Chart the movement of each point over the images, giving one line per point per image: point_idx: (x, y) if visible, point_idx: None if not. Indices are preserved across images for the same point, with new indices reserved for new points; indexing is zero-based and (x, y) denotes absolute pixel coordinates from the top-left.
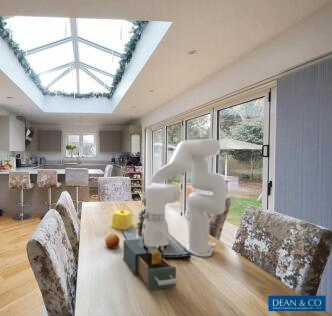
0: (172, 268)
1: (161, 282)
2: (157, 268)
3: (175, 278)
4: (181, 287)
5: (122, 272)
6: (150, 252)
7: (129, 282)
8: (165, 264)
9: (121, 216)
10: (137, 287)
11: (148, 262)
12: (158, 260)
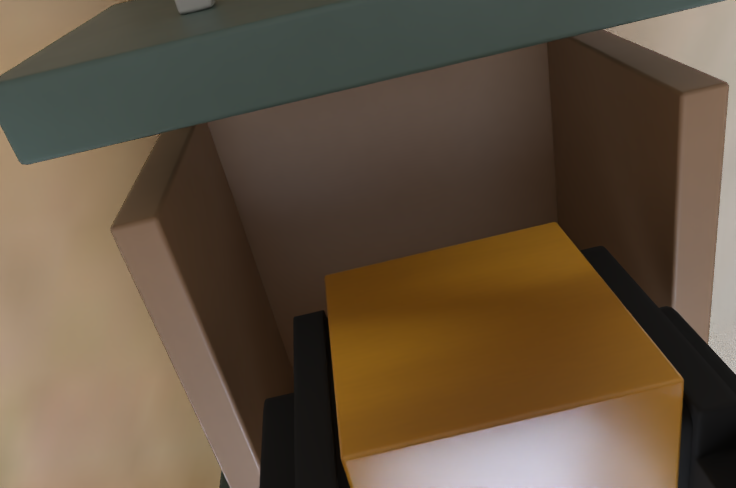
0: (89, 56)
1: None
2: (517, 19)
3: (78, 29)
4: (18, 36)
5: (726, 309)
6: (700, 461)
7: (731, 120)
8: (213, 305)
9: None
10: (674, 13)
11: None
12: (411, 299)
